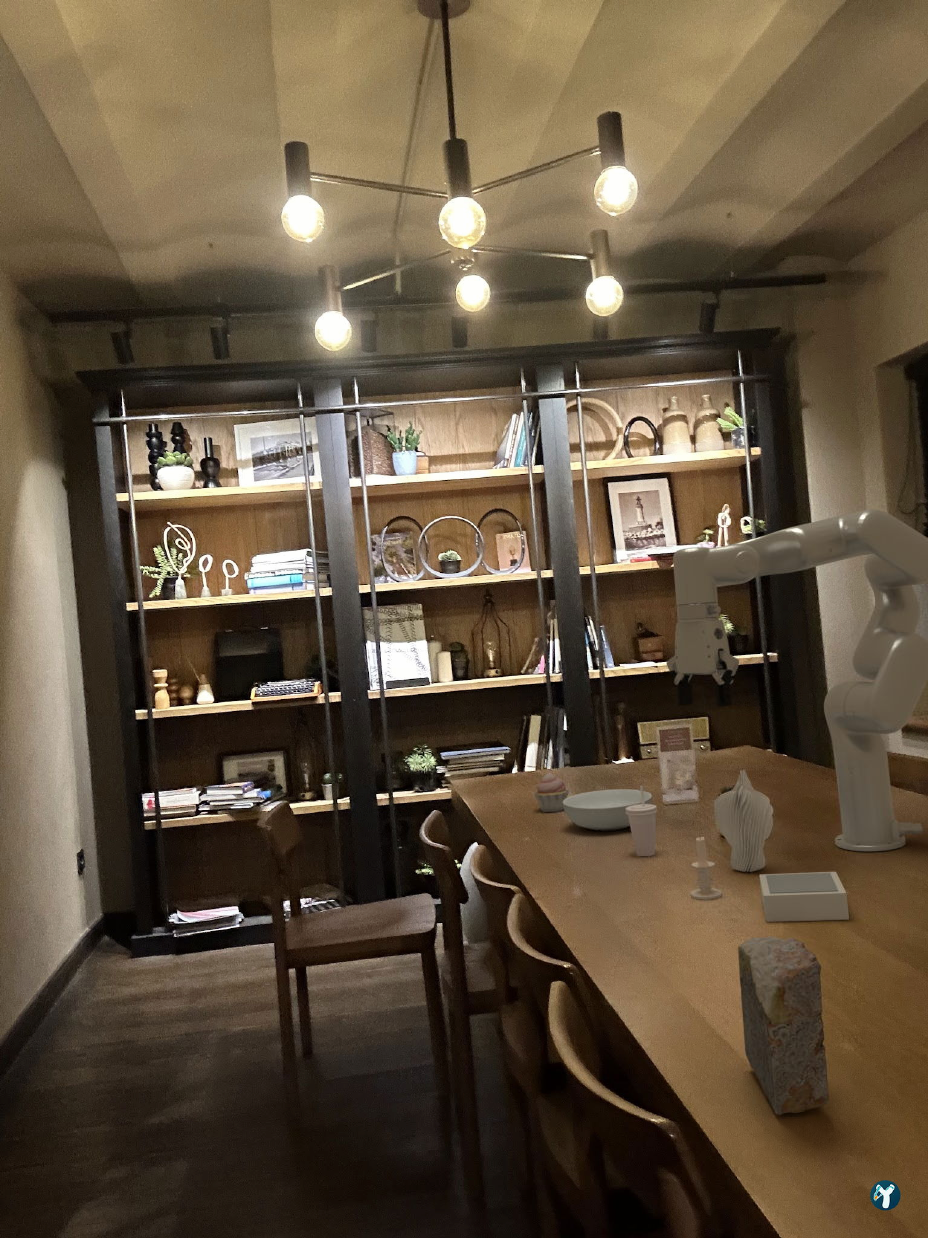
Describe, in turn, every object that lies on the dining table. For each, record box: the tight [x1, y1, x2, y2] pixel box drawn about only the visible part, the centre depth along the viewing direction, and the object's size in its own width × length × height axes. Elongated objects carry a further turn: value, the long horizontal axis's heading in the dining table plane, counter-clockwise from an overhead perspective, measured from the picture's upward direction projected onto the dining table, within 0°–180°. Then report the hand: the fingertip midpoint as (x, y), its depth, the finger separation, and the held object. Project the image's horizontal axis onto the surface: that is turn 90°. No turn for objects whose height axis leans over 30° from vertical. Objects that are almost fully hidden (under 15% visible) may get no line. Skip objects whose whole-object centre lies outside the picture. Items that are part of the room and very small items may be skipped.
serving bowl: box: [563, 788, 653, 832], centre depth 227 cm, size 21×21×7 cm
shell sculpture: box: [713, 769, 774, 873], centre depth 178 cm, size 8×8×18 cm
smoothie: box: [626, 785, 658, 857], centre depth 197 cm, size 6×6×14 cm
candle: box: [690, 836, 723, 901], centre depth 165 cm, size 5×5×10 cm
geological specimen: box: [737, 936, 830, 1116], centre depth 97 cm, size 11×6×15 cm, turn 178°
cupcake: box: [533, 771, 570, 813], centre depth 253 cm, size 9×9×10 cm
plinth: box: [759, 871, 850, 923], centre depth 153 cm, size 12×12×4 cm
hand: (704, 705), depth 180 cm, fingers open, 9 cm apart
